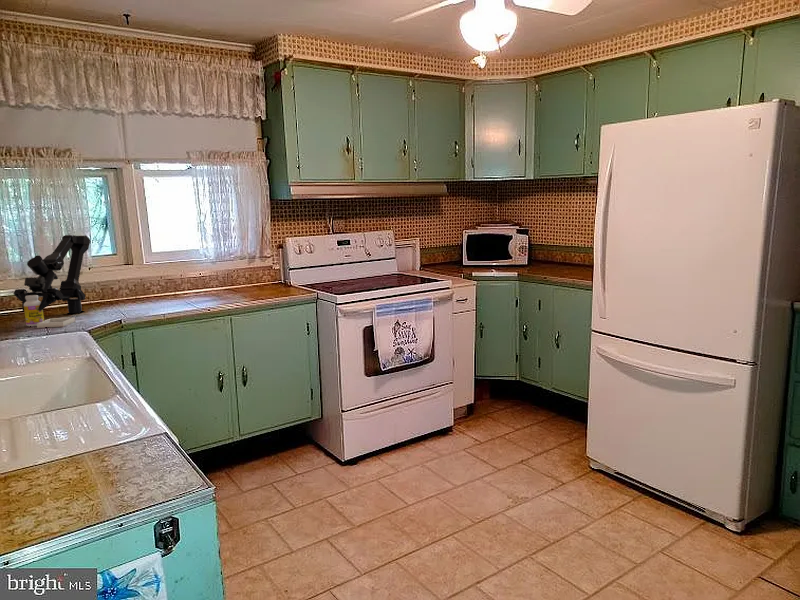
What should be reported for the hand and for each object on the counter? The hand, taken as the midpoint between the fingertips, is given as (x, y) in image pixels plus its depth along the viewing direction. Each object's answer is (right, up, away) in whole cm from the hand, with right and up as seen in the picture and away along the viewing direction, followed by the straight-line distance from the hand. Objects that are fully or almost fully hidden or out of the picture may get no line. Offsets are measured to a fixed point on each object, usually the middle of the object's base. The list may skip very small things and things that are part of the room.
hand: (31, 310), depth 243 cm
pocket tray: (+10, -6, +2) cm, 12 cm away
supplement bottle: (0, -6, +2) cm, 7 cm away
